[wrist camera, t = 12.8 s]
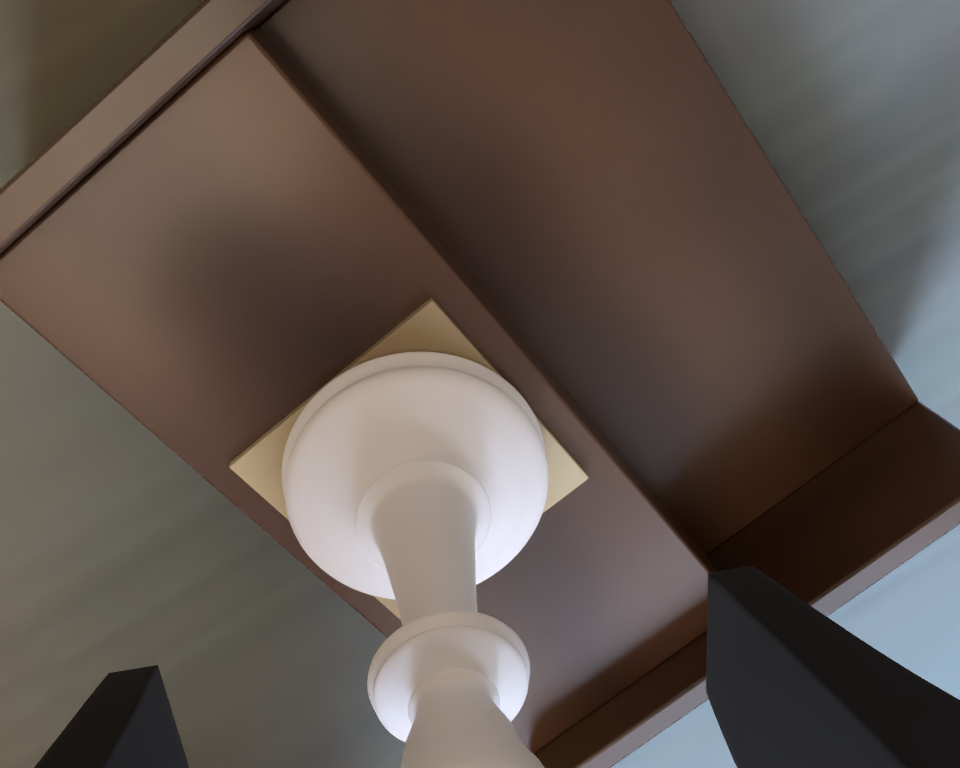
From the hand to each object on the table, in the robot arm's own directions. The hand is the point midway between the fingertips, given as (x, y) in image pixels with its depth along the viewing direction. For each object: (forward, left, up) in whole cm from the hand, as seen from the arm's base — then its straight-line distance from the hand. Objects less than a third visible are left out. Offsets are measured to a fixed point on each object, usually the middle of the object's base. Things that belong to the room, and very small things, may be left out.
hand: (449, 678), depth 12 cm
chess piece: (0, 0, -6) cm, 6 cm away
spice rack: (+3, 0, -10) cm, 10 cm away
